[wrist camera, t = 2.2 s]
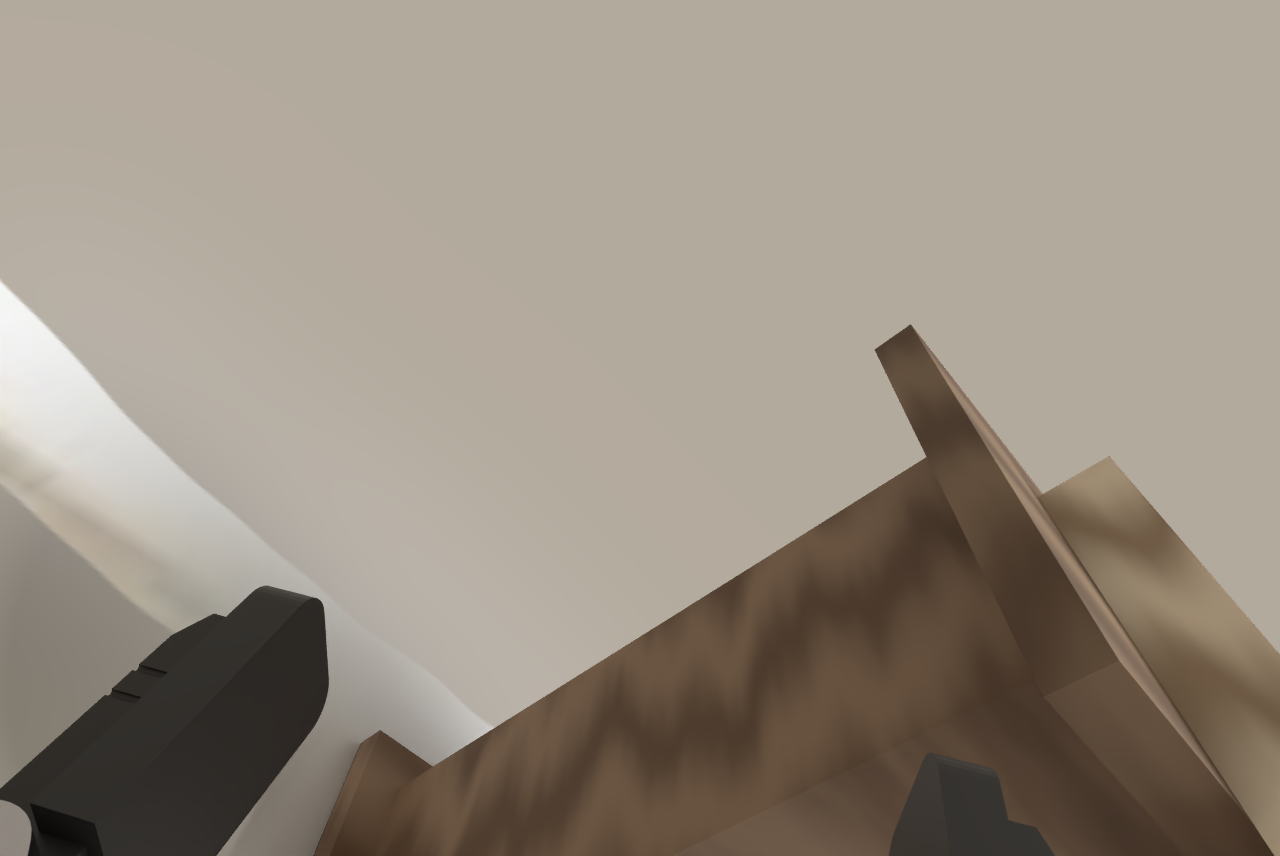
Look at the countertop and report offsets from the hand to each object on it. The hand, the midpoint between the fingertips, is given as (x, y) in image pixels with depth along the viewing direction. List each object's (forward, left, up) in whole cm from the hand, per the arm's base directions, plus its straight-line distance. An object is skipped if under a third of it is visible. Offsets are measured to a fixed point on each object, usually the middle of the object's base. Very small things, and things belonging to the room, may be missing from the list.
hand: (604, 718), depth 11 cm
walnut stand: (-20, -1, -27) cm, 33 cm away
